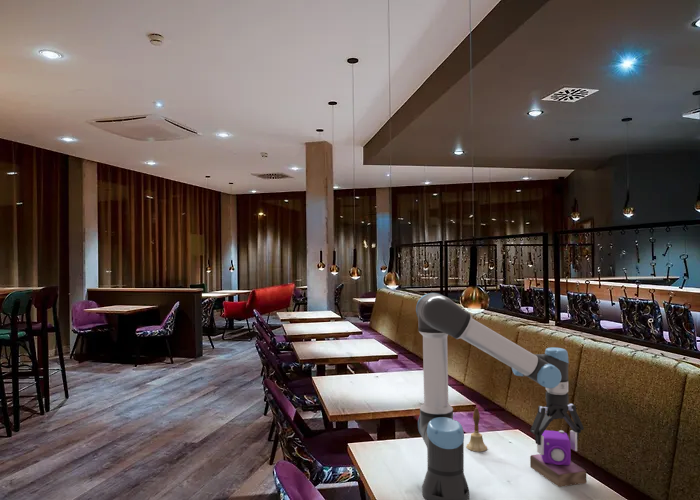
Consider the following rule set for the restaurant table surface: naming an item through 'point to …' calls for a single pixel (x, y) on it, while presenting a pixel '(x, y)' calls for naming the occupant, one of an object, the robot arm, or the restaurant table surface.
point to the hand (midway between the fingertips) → (557, 451)
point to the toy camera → (556, 448)
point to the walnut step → (558, 472)
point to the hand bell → (476, 436)
